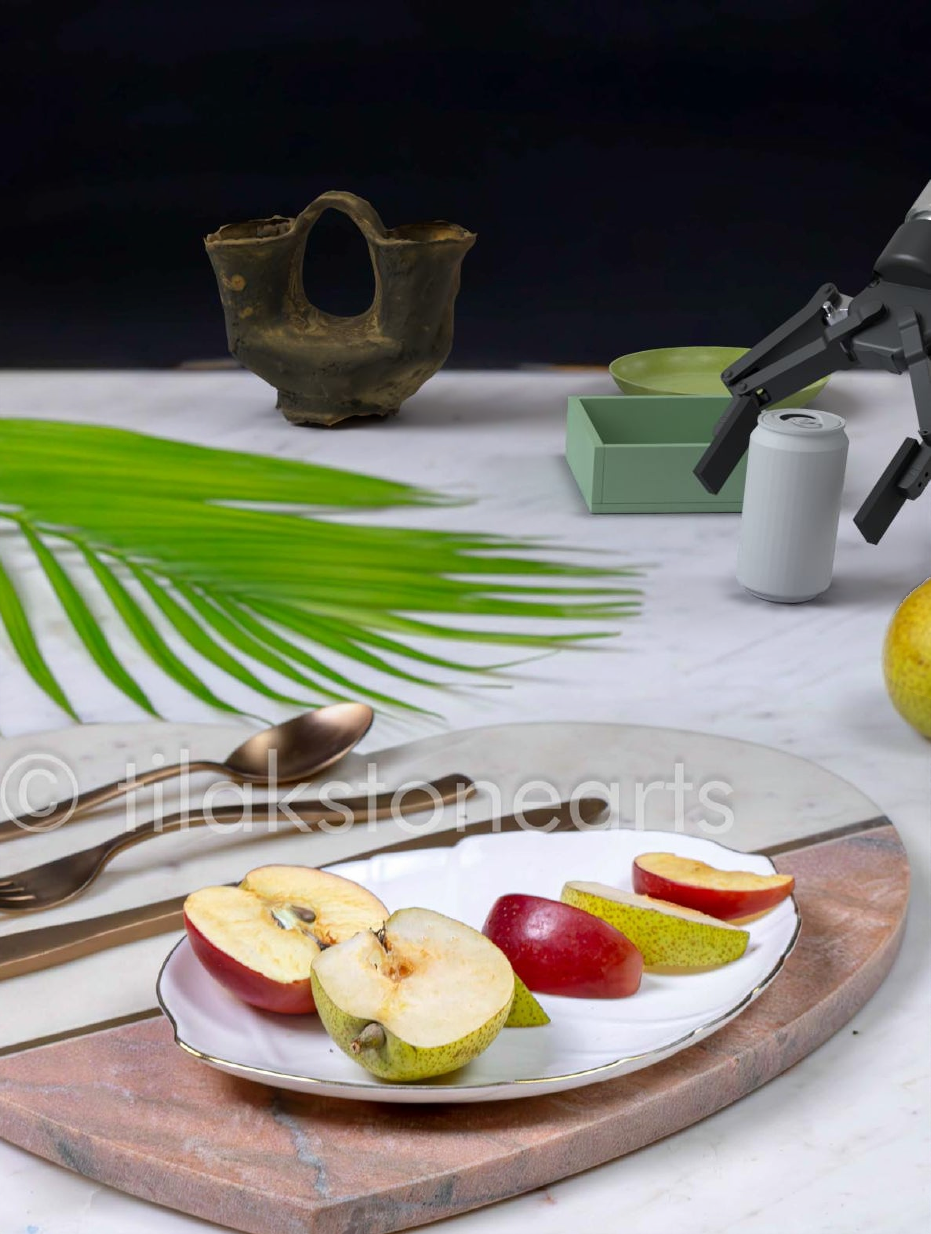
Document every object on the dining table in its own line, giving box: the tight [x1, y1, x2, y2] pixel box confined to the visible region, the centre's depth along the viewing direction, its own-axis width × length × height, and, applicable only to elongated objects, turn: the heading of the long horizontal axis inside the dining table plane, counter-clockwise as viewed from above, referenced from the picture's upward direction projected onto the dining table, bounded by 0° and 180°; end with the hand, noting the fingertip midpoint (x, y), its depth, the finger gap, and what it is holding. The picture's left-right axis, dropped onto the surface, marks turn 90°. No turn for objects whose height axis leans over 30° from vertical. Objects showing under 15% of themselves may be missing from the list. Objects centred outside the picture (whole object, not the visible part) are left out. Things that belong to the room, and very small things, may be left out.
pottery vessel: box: [203, 190, 478, 427], centre depth 154 cm, size 25×11×20 cm, turn 76°
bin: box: [564, 395, 766, 514], centre depth 138 cm, size 16×16×5 cm
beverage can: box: [735, 408, 850, 604], centre depth 114 cm, size 6×6×12 cm
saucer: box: [608, 346, 832, 411], centre depth 162 cm, size 21×21×3 cm
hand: (780, 507), depth 114 cm, fingers open, 13 cm apart
